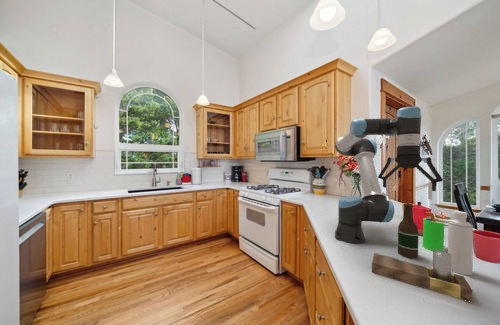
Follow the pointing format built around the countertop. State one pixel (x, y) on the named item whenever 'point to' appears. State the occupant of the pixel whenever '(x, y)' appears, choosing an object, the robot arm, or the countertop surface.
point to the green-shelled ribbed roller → (433, 233)
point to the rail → (421, 277)
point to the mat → (386, 256)
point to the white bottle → (461, 243)
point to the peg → (442, 265)
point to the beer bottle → (408, 234)
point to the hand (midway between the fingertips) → (407, 197)
